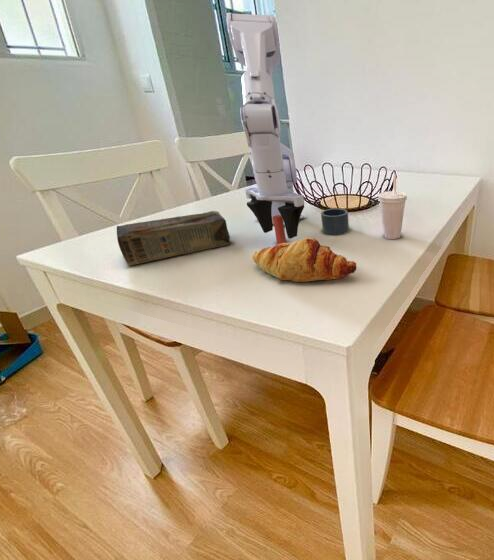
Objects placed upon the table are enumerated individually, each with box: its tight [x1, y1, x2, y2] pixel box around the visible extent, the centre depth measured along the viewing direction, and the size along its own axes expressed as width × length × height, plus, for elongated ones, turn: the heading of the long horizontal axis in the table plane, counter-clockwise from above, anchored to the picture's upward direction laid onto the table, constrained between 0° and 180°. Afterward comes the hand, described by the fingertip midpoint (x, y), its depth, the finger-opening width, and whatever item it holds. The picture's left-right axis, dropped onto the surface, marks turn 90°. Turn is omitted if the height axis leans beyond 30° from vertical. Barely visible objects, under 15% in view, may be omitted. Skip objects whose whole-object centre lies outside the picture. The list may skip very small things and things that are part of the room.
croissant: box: [252, 237, 357, 283], centre depth 62 cm, size 21×10×8 cm, turn 74°
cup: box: [320, 208, 350, 236], centre depth 82 cm, size 6×6×4 cm
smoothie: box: [377, 173, 408, 240], centre depth 76 cm, size 6×6×14 cm
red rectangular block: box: [273, 215, 287, 245], centre depth 75 cm, size 2×2×6 cm
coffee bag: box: [116, 210, 232, 266], centre depth 71 cm, size 8×19×7 cm, turn 127°
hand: (280, 234), depth 75 cm, fingers open, 7 cm apart
